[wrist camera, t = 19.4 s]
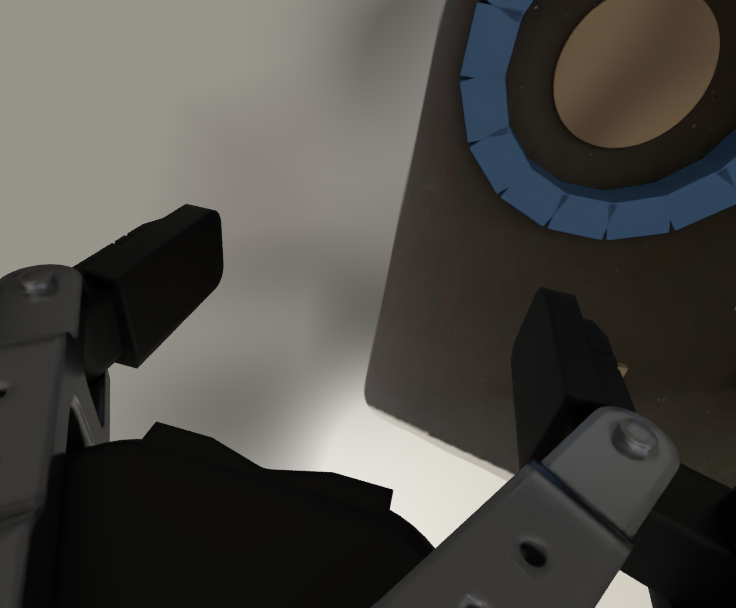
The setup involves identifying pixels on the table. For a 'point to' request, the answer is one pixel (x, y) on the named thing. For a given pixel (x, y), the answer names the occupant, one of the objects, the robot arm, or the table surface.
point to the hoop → (547, 193)
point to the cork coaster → (634, 69)
